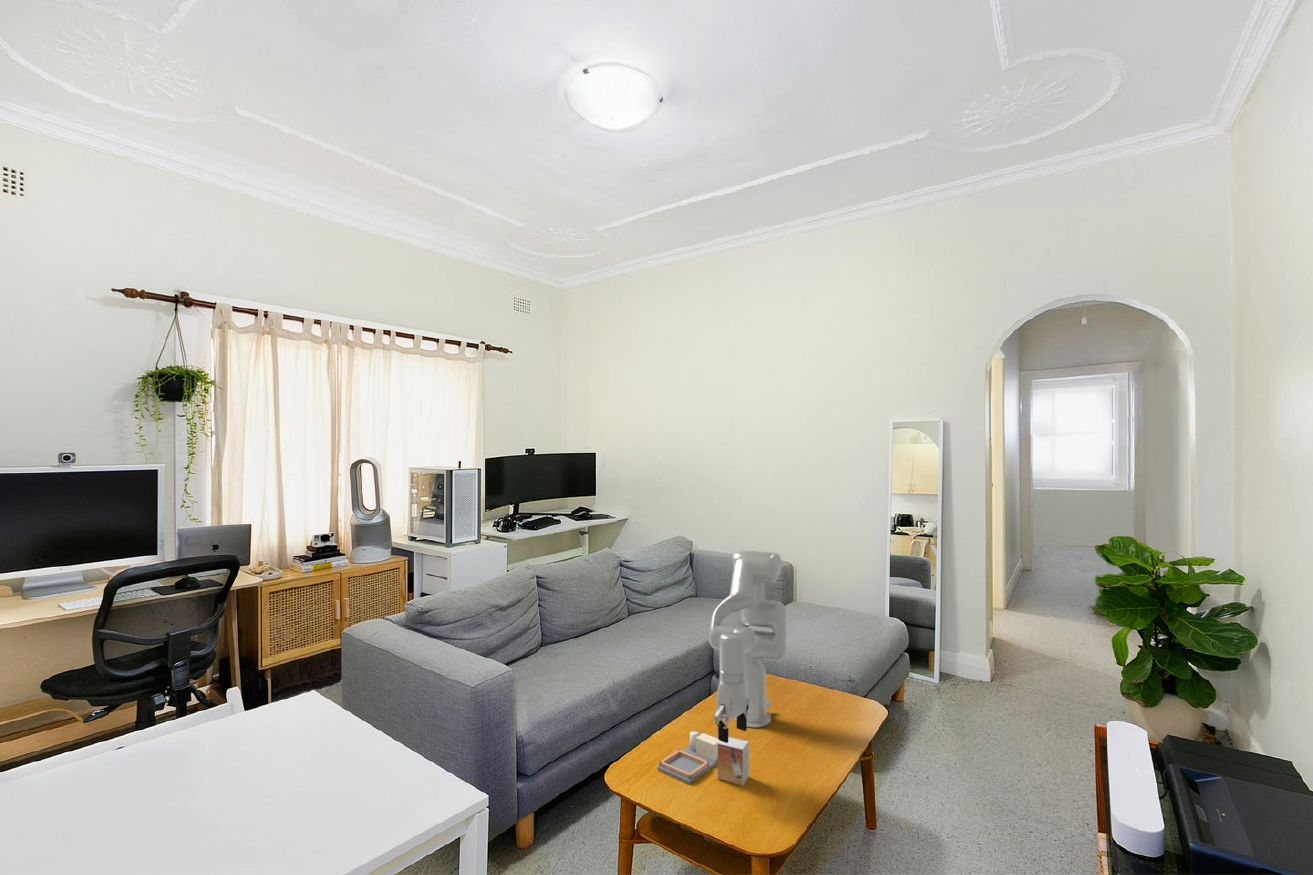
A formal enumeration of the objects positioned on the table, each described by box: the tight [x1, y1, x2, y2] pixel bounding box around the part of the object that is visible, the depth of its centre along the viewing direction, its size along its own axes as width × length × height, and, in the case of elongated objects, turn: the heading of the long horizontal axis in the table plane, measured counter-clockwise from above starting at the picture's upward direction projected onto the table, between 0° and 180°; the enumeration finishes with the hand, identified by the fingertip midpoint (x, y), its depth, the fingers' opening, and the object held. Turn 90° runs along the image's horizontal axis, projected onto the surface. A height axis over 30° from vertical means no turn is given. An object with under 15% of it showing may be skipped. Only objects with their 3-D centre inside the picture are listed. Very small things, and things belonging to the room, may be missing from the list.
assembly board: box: [657, 730, 720, 785], centre depth 181 cm, size 18×12×6 cm, turn 140°
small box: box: [716, 736, 750, 787], centre depth 174 cm, size 8×6×10 cm
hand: (732, 735), depth 173 cm, fingers open, 9 cm apart
